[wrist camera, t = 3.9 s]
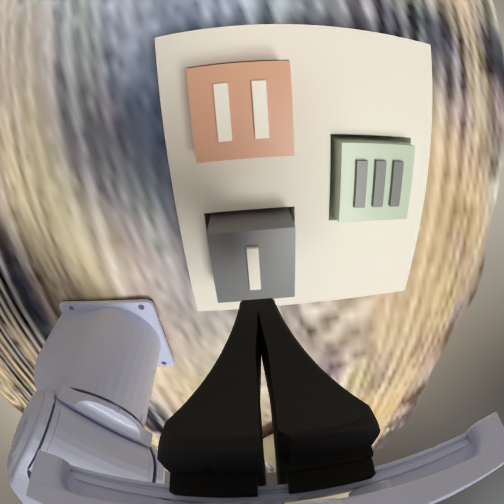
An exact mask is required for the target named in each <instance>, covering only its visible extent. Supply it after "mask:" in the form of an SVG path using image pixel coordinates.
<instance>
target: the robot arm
mask: <svg viewBox="0 0 504 504" xmlns="http://www.w3.org/2000/svg"><path fill="white" fill-rule="evenodd" d="M140 305H143V306H140ZM59 308H60V310H61V312H62V314H61V316H60V317H59V319H58V321H57V322H56V324H55V326H54V328H53V329H52V331H51V333H50V335H49V337H48V338H47V340H46V342H45V344H44V346H43V348H42V349H41V351H40V353H39V355H38V357H37V360H36V364H35V370H34V381H35V387H36V390H37V391H36V392H35V393H34V394H33V396H32V397H31V399H30V401H29V402H28V404H27V406H26V408H25V410H24V412H23V414H22V416H21V419H20V421H19V424H18V426H17V429H16V432H15V435H14V438H13V442H12V446H11V450H10V453H9V456H8V460H7V474H8V480H9V483H10V485H11V487H12V489H13V490H14V492H15V493H16V495H17V496H18V497H19V498H20V500H21V501H22V502H23V504H275V503H286V502H295V501H302V500H309V499H316V498H322V497H327V496H332V495H337V494H342V493H346V492H350V493H349V497H345V498H339V499H337V498H332V499H322V500H315V501H308V502H301V503H293V504H435V503H437V502H439V501H441V500H443V499H446V498H448V497H450V496H451V495H454V494H455V493H457V492H459V491H461V490H463V489H465V488H467V487H468V486H470V485H472V484H474V483H475V482H477V481H479V480H480V479H482V478H484V477H485V476H487V475H488V474H490V473H491V472H493V471H495V470H496V469H497V468H499V467H500V466H502V465H503V464H504V427H503V425H502V423H501V420H500V418H499V416H498V414H497V413H496V412H495V413H493V414H491V415H489V416H487V417H486V418H484V419H482V420H480V421H478V422H477V423H475V424H474V425H473V426H472V427H471V428H470V429H469V430H468V431H467V432H466V433H464V434H462V435H460V436H458V437H456V438H454V439H451V440H449V441H447V442H444V443H442V444H440V445H437V446H435V447H432V448H430V449H427V450H425V451H422V452H420V453H417V454H414V455H411V456H408V457H406V458H403V459H400V460H396V461H394V462H390V463H387V464H384V465H380V466H376V467H374V465H373V461H372V456H373V450H372V447H371V445H372V444H373V443H374V441H375V440H376V438H377V437H378V435H379V433H380V429H379V424H378V422H377V420H376V418H375V416H374V414H373V412H372V410H371V408H370V407H369V405H367V404H366V403H364V402H363V401H361V400H360V399H358V398H357V397H355V396H354V395H352V394H351V393H349V392H348V391H347V390H345V389H344V388H343V387H342V386H340V385H339V384H338V383H337V382H336V381H334V380H333V379H332V378H331V377H330V376H329V375H328V374H326V373H325V372H324V371H323V370H322V369H321V368H320V367H319V366H318V365H317V364H316V363H315V362H314V361H313V359H312V358H311V357H310V356H309V355H308V354H307V353H306V351H305V350H304V349H303V348H302V346H301V345H300V344H299V342H298V341H297V340H296V338H295V337H294V336H293V334H292V333H291V331H290V329H289V328H288V326H287V325H286V323H285V321H284V320H283V318H282V316H281V314H280V312H279V310H278V308H277V306H276V304H275V301H274V299H272V298H266V299H253V300H242V301H241V302H240V306H239V310H238V314H237V317H236V320H235V323H234V326H233V329H232V331H231V334H230V336H229V338H228V340H227V342H226V344H225V347H224V349H223V351H222V353H221V354H220V356H219V358H218V360H217V361H216V363H215V365H214V366H213V368H212V370H211V371H210V373H209V374H208V375H207V377H206V378H205V380H204V381H203V382H202V384H201V385H200V386H199V388H198V389H197V390H196V391H195V392H194V394H193V395H192V396H191V397H190V398H189V399H188V400H187V402H186V403H185V404H184V405H183V406H182V407H181V408H180V409H179V410H178V411H177V412H176V413H175V414H174V415H173V416H171V417H170V418H169V419H168V420H167V421H166V423H165V425H164V428H163V430H162V433H161V436H160V440H159V445H158V450H157V449H156V448H155V447H153V446H151V441H152V433H151V432H149V431H147V430H145V429H144V428H145V423H146V417H147V412H148V407H149V402H150V397H151V392H152V387H153V382H154V377H155V373H156V368H157V366H173V365H174V362H175V361H174V358H173V355H172V353H171V350H170V348H169V345H168V342H167V340H166V337H165V334H164V332H163V329H162V326H161V323H160V321H159V318H158V315H157V312H156V309H155V306H154V304H153V302H152V301H151V300H148V299H140V300H110V301H62V302H60V304H59ZM261 355H262V361H263V366H264V371H265V376H266V382H267V387H268V392H269V397H270V404H271V414H272V425H273V436H274V448H275V460H276V472H277V483H278V485H269V486H266V473H265V461H264V448H263V435H262V422H261V408H260V385H261ZM164 467H165V468H166V469H167V470H168V471H169V472H170V484H164V480H165V471H164ZM351 491H352V492H351Z"/></svg>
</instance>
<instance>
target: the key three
mask: <svg viewBox="0 0 504 504" xmlns="http://www.w3.org/2000/svg"><path fill="white" fill-rule="evenodd" d="M330 138H331V149H330V199H329V209H330V211H331V212H332V214H333V215H334V216H335V218H336V219H337V221H338V222H339V223H341V222H358V221H376V220H395V219H407V214H408V207H409V200H410V193H411V185H412V176H413V166H414V154H415V146H414V145H412V144H409V143H407V142H404V141H402V140H399V139H396V138H394V137H391V136H377V135H352V134H330Z"/></svg>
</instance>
